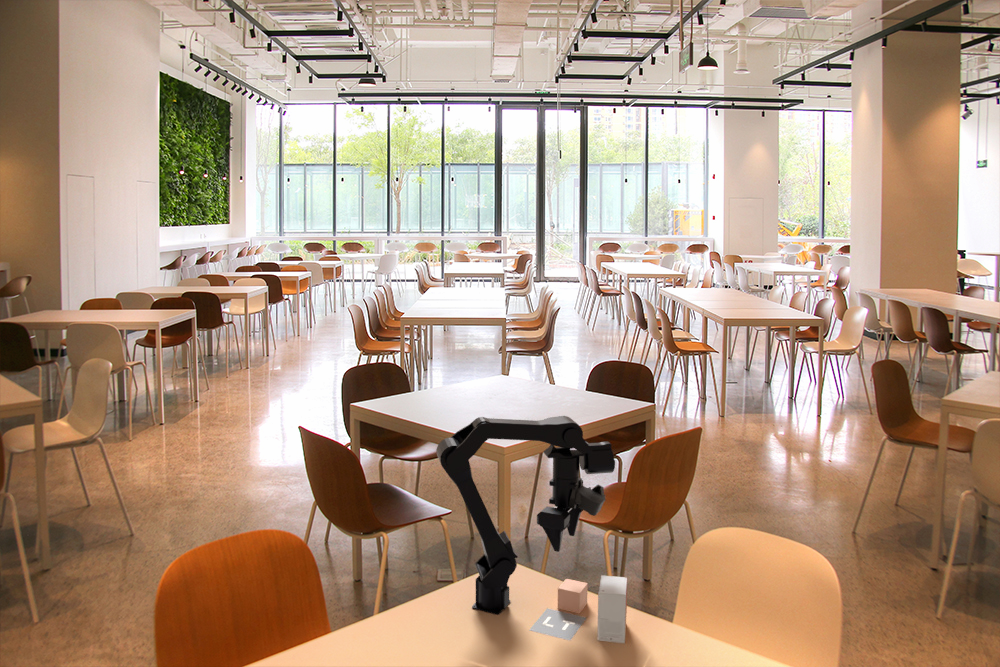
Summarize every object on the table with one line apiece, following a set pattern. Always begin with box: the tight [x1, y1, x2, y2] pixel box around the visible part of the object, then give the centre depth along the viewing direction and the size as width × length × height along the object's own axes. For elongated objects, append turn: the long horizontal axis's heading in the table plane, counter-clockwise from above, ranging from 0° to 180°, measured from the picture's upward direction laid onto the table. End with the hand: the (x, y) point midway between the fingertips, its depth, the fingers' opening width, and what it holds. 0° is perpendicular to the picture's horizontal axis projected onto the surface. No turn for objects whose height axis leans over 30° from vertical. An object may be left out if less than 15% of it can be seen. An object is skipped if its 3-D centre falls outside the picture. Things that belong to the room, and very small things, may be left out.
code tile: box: [529, 607, 587, 642], centre depth 161 cm, size 9×10×1 cm
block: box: [557, 578, 589, 614], centre depth 168 cm, size 5×5×5 cm
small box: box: [596, 574, 628, 644], centre depth 157 cm, size 8×6×10 cm
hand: (564, 543), depth 170 cm, fingers open, 9 cm apart
